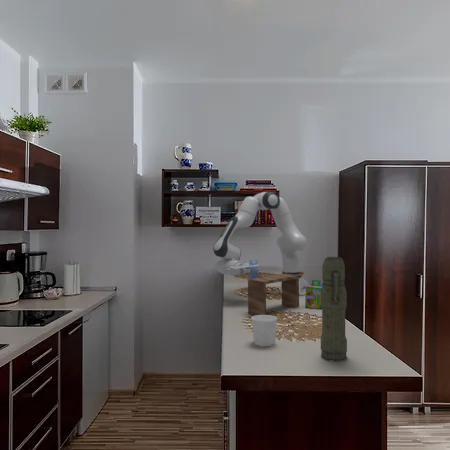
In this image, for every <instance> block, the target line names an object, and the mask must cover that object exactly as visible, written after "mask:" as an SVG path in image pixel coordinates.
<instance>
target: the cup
mask: <svg viewBox="0 0 450 450" xmlns="http://www.w3.org/2000/svg"><path fill="white" fill-rule="evenodd" d="M250 318H251V319H250V320H251V328H252V335H253V338H252V339H253V343H254V345H255V346H260V347H271V346H273V345H276V339H277V337H276V336H277V323H278V322H277V321H278V317H277V316H274V315H270V314H266V315H253V316H251V317H250Z"/></svg>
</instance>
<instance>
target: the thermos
mask: <svg viewBox="0 0 450 450" xmlns="http://www.w3.org/2000/svg"><path fill="white" fill-rule="evenodd" d="M321 270H322V271H321V272H322V290H321V308H322V309H321V329H322V330H321V336H320V351H321V352H320V353H321V354H320V356H322V357H321V358H322V359H324V360H326V359H327V361H330V360H333V361H332V362H342V361H341V360H343V361H346V360H347V352H348V339H347V337H346V310H347V307H348V303H347V300H348V299H347V294H348V292H347V289H346V284H345V281H346V277H345V276H346V273H345V272H346V267H345V261H344V260H343V258H342V257H340V256H326V257H325V258H324V260H323V263H322V269H321Z"/></svg>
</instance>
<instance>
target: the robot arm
mask: <svg viewBox="0 0 450 450" xmlns="http://www.w3.org/2000/svg"><path fill="white" fill-rule="evenodd" d="M238 208H239V209H238V211H237V212H236V215H234V216H232V217H230V219H229V220H228V222H227V224H226V225H225V227H224V229H223V230H222V232H221V234H220V236H219V238H218V239H217V240H216V241H215V242H214V244H213V248H212V250H213V254H214V255H215V257H216V256H217V257H219V259H217V260H215V263H214V264H215V265H214V268H215V270H216V271H217V273H219V274H223V275H230V276H233V277H240V276H242V275H244V274H249V273H251V272H252V270H251V269H249V261H242V260H240V259H241V254H242V252H241V249H240V247H238V246H236V245H233V244H231V243H229V242H230V239H231V237H232V235H233V233H234V231H236V230H237V229H238V228H239V229H240V228H241V229H245V228H246V229H247V228H249V227H250V226H252V224H253V223H254V221H255V219H256V216H257V213H258V211H267V210H270V213H271V215H272V218H273V220H274V223H275V226H276V228H277V229H278V230H279V232H280V233H281V234H278V236H277V238H276V245H277V247H278V249H279V251H280V253H281V254H280V255H281V258H282V271H281V272H282V273H281V274H292V275H299V296H304V295H305V296H306V286H308V285H309V282H308V281H306V280H305V279H304V278H303V276H304V275H305V271H301V259H300V257H299V255H298V254H297V252H299V251H303V250H304V249H305V248H306V247H307V244H308V241H307V237H305V235H303V234H302V233H301V232H300V229H299V228H298V227H297V225H296V224H295V222H294V220H293V216H292V214H291V211H290V209H289V207H288V205H287V202H286V200H285V199H284V198H283V197H280V196H278V195H277V194H276V193H275V192H273V191H262V192H260V193H256V194H254V195H253V196H246V197H245V198H244V199H243V201H242V202H241V205H240V206H239V207H238ZM259 271H260V264H258V272H259ZM280 283H281V284H280V289H279V292H280V294H281V295H282V281H281V282H280Z"/></svg>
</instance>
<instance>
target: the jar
mask: <svg viewBox="0 0 450 450" xmlns="http://www.w3.org/2000/svg"><path fill="white" fill-rule="evenodd" d="M248 262H249V269H251V270H252V272H251V273H248V280H249V279H255V278H259V276H258V275H259V271H258V265H259V264H258V260H257V259H249V260H248Z"/></svg>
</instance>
